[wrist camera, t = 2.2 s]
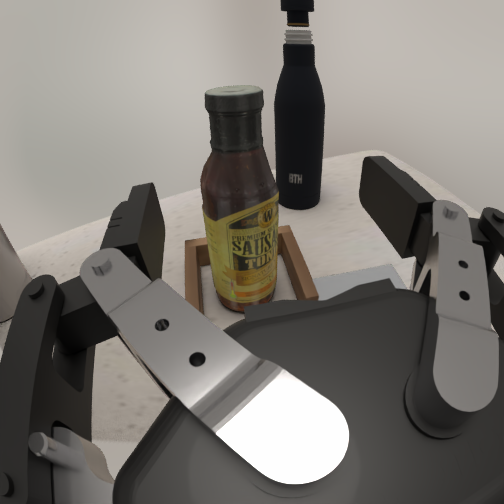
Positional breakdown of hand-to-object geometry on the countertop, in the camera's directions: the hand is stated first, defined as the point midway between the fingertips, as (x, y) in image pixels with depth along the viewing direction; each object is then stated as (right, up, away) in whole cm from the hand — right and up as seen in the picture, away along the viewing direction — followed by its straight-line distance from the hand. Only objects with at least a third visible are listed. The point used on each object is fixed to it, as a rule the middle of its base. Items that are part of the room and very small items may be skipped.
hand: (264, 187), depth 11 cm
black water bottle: (+6, +5, +33) cm, 34 cm away
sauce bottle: (-1, -6, +21) cm, 22 cm away
